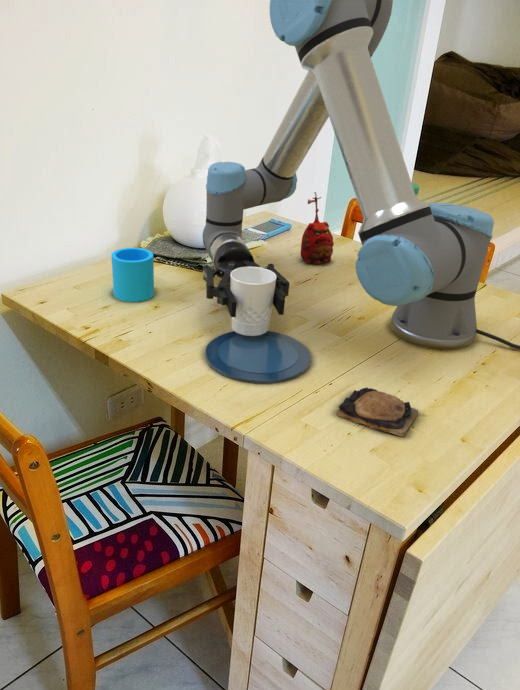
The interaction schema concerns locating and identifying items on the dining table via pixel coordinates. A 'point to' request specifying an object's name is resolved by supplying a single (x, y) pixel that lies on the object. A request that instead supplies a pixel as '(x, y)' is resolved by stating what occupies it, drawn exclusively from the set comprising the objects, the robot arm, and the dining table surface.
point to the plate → (258, 357)
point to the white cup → (252, 299)
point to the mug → (133, 274)
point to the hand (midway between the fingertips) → (258, 308)
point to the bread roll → (378, 411)
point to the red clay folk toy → (317, 240)
